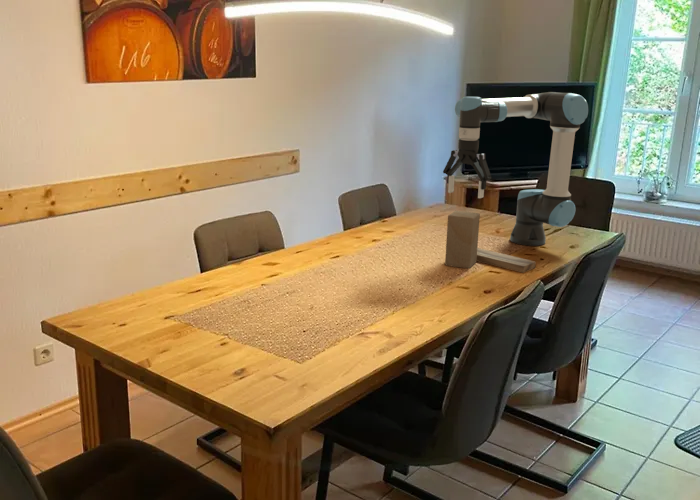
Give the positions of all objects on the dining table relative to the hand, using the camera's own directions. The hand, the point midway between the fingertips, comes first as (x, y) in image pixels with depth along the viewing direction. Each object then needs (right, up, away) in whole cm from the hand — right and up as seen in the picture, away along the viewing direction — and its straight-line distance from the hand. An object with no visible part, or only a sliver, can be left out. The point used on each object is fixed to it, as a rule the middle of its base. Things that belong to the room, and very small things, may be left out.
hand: (465, 195), depth 263 cm
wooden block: (-1, -27, +8) cm, 28 cm away
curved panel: (+14, -26, +10) cm, 31 cm away
